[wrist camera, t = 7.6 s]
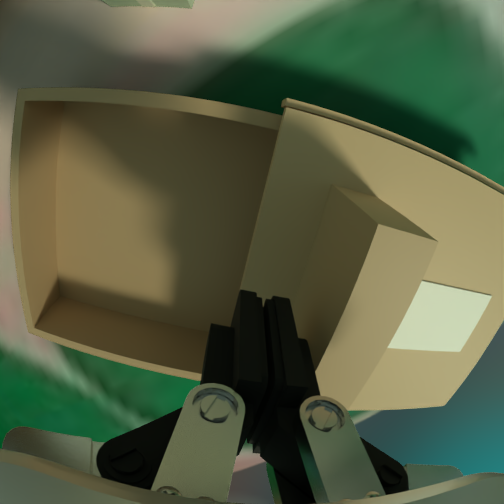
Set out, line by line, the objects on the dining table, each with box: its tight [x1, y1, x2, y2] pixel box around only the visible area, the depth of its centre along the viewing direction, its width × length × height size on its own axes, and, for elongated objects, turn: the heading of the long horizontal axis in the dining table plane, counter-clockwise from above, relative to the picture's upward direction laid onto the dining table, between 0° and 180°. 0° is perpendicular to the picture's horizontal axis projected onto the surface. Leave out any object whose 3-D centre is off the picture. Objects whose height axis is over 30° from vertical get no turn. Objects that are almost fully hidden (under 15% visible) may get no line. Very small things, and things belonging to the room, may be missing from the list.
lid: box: [239, 98, 504, 410], centre depth 13 cm, size 17×15×7 cm
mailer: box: [10, 87, 282, 381], centre depth 16 cm, size 16×14×5 cm
